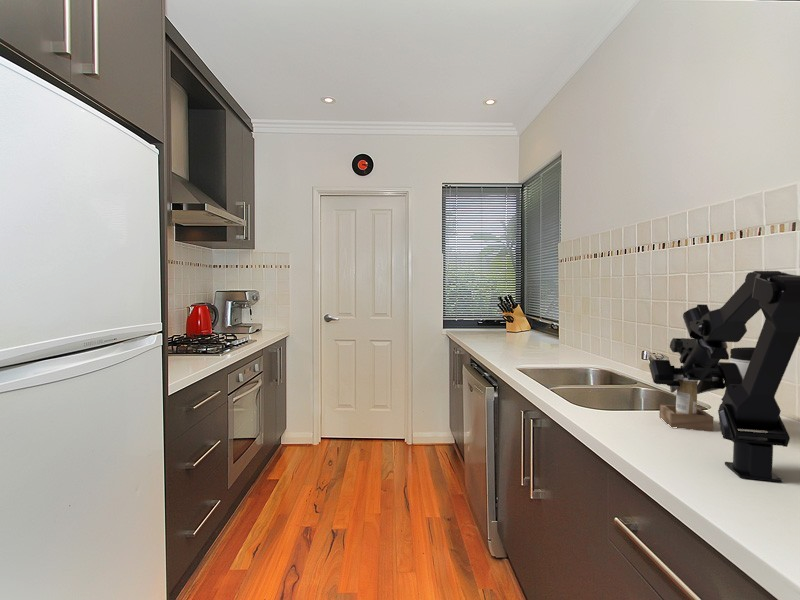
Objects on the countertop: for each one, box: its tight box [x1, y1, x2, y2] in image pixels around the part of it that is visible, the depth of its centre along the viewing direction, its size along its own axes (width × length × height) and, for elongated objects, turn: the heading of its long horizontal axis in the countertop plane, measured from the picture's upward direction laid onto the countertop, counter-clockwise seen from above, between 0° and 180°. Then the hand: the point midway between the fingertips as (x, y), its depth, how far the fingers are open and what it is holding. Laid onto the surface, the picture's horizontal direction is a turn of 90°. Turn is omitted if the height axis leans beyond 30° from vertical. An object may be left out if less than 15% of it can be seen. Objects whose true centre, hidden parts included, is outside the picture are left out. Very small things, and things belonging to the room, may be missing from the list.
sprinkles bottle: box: [675, 378, 700, 415], centre depth 109 cm, size 5×5×14 cm
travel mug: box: [729, 346, 755, 379], centre depth 111 cm, size 6×7×20 cm
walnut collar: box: [659, 404, 714, 432], centre depth 110 cm, size 9×9×4 cm
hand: (683, 391), depth 111 cm, fingers open, 5 cm apart
